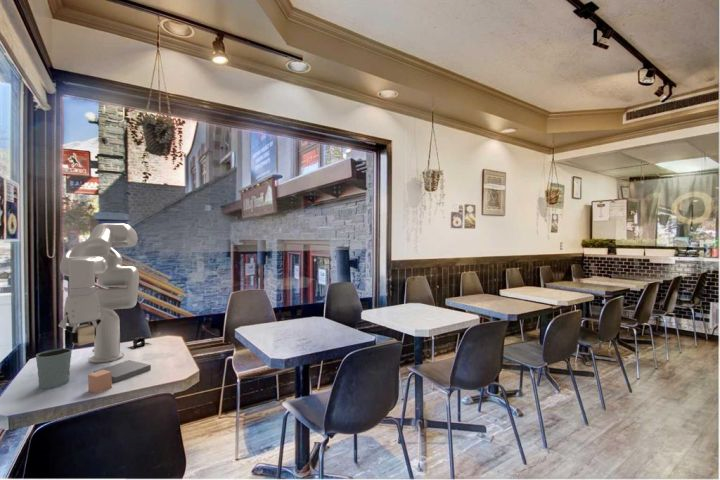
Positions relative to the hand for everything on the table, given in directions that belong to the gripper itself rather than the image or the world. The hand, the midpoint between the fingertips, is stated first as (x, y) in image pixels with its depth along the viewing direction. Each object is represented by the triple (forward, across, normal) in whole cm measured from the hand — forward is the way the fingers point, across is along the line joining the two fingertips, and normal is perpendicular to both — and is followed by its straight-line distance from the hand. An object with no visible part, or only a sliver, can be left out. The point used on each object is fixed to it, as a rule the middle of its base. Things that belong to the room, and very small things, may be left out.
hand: (83, 339), depth 131 cm
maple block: (+1, 0, 0) cm, 1 cm away
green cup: (+17, +4, -12) cm, 21 cm away
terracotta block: (+17, 0, +9) cm, 19 cm away
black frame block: (+19, -38, -28) cm, 51 cm away
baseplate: (+17, -13, +1) cm, 22 cm away
